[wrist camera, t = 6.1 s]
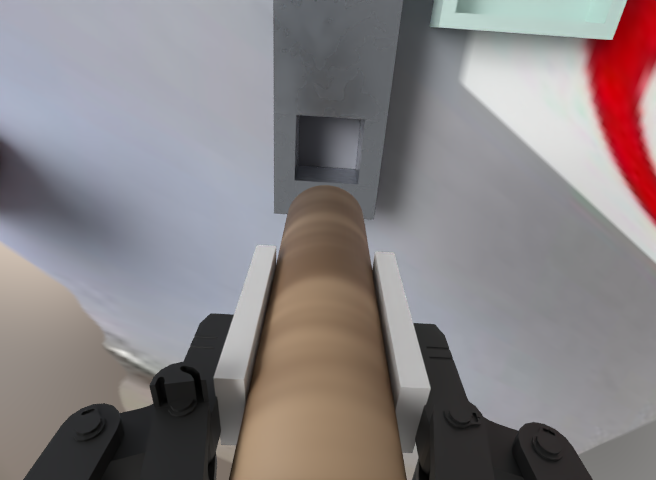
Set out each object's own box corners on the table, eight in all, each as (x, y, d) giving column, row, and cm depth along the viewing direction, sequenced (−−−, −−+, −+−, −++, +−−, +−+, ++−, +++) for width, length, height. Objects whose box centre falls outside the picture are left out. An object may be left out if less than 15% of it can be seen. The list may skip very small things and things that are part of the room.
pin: (275, 170, 19) (58, 766, 4) (380, 177, 19) (571, 778, 4) (275, 259, 22) (145, 830, 6) (368, 265, 22) (456, 834, 7)
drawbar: (280, -126, 27) (272, -148, 23) (409, -116, 27) (421, -136, 24) (279, 196, 39) (274, 213, 35) (369, 201, 39) (373, 219, 35)
